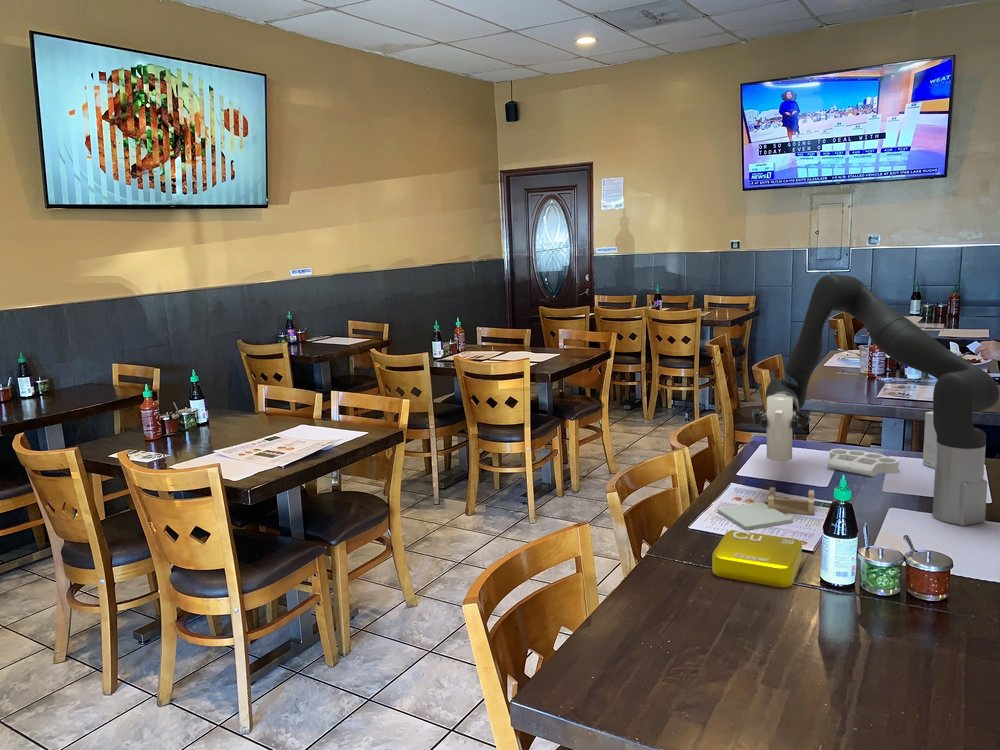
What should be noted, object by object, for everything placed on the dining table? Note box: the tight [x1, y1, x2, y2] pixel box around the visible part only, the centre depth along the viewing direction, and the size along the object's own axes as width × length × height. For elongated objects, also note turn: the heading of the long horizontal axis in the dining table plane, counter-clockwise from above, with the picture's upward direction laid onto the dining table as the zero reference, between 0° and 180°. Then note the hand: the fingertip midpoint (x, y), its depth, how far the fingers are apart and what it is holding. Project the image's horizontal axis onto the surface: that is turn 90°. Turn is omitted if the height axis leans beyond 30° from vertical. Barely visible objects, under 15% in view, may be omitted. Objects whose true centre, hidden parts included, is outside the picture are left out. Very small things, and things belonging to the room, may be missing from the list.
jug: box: [766, 394, 793, 462], centre depth 180 cm, size 10×6×15 cm, turn 157°
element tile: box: [711, 529, 803, 588], centre depth 149 cm, size 15×15×5 cm
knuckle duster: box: [826, 448, 900, 478], centre depth 205 cm, size 3×18×15 cm
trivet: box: [717, 501, 794, 531], centre depth 174 cm, size 12×12×1 cm
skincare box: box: [922, 410, 937, 469], centre depth 201 cm, size 8×6×15 cm
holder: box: [767, 486, 815, 516], centre depth 179 cm, size 9×10×3 cm
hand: (779, 424), depth 178 cm, fingers closed on jug, 5 cm apart
